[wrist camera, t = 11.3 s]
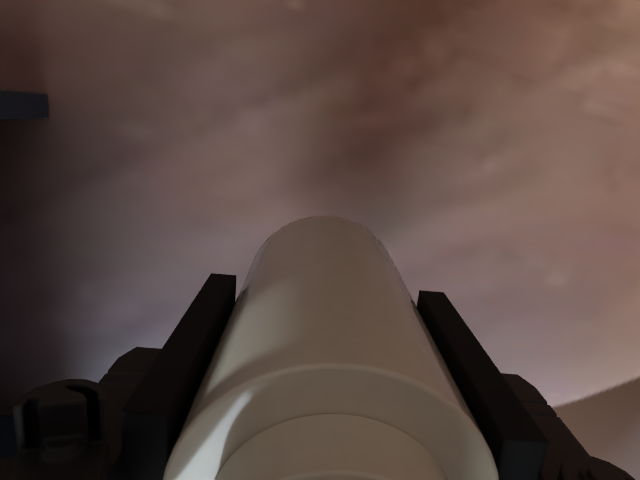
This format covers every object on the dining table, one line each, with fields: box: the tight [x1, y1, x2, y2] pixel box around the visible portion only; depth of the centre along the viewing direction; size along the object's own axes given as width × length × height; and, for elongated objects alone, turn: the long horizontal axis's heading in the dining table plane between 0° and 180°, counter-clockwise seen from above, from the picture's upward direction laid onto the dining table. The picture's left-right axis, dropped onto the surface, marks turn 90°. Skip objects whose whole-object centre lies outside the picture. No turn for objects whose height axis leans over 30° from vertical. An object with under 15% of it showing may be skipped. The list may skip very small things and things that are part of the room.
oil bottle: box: [162, 216, 499, 480], centre depth 10 cm, size 6×6×15 cm
